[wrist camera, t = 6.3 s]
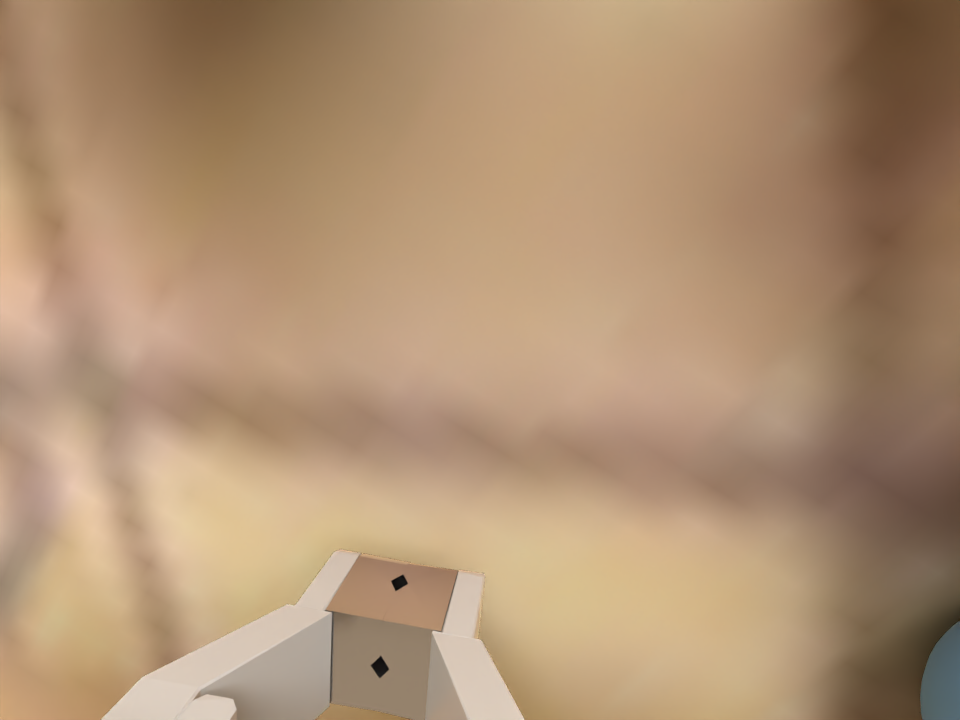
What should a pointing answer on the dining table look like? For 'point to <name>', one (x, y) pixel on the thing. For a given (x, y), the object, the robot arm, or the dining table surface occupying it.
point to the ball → (942, 679)
